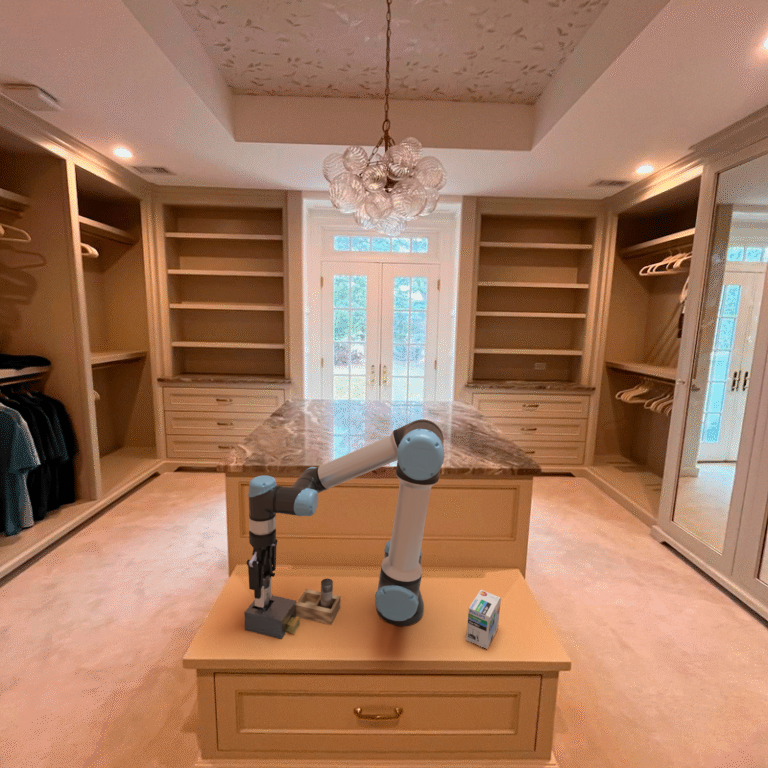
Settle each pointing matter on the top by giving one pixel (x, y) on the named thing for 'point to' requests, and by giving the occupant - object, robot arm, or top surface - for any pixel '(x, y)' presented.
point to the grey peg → (265, 592)
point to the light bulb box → (483, 618)
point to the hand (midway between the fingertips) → (263, 601)
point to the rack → (319, 604)
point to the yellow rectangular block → (292, 624)
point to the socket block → (270, 617)
